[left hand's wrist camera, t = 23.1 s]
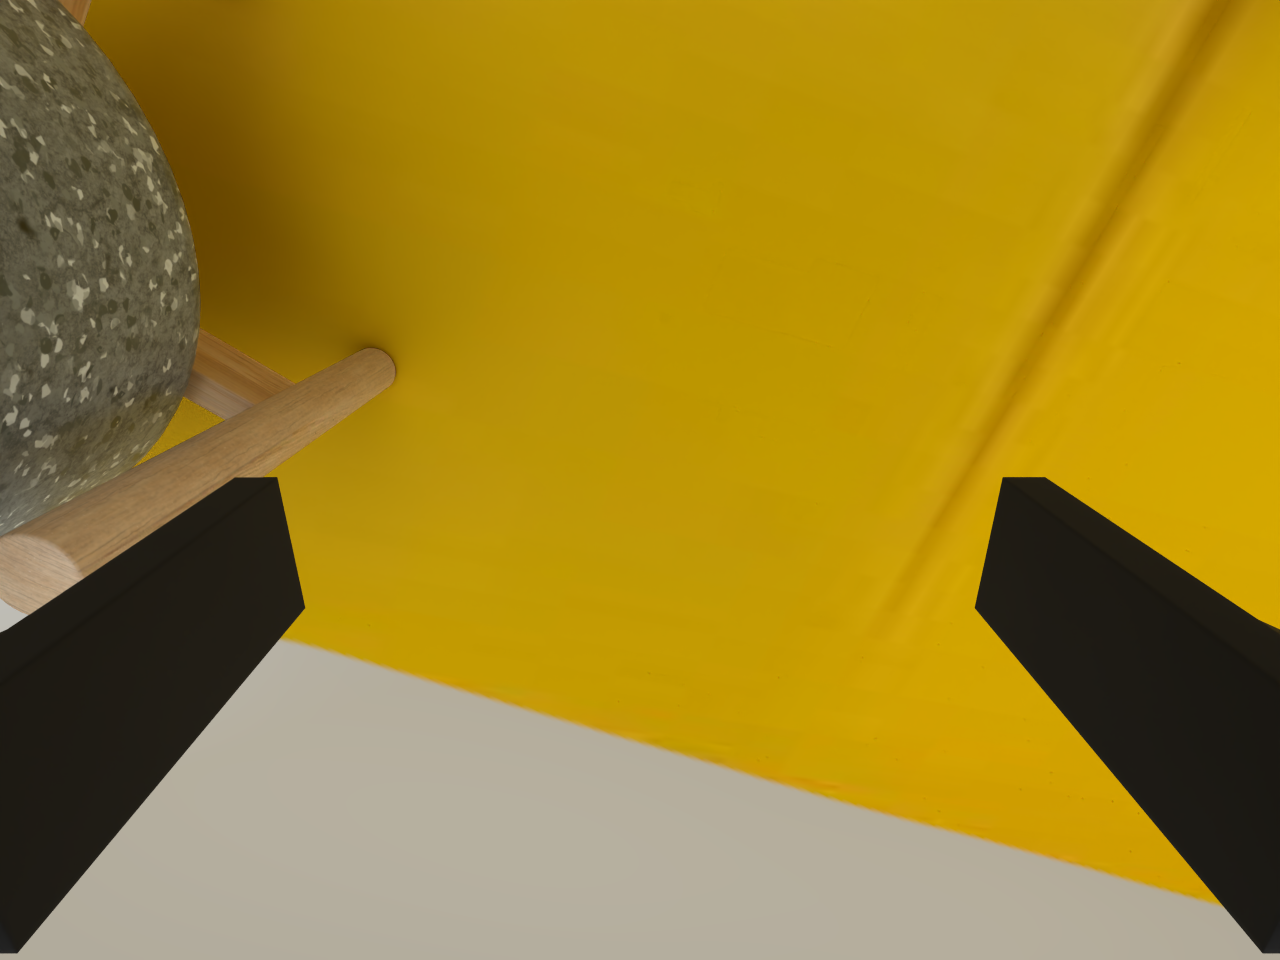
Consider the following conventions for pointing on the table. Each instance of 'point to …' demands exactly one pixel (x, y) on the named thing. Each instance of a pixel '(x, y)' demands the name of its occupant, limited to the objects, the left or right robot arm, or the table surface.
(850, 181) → the table surface
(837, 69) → the table surface
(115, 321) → the planter
